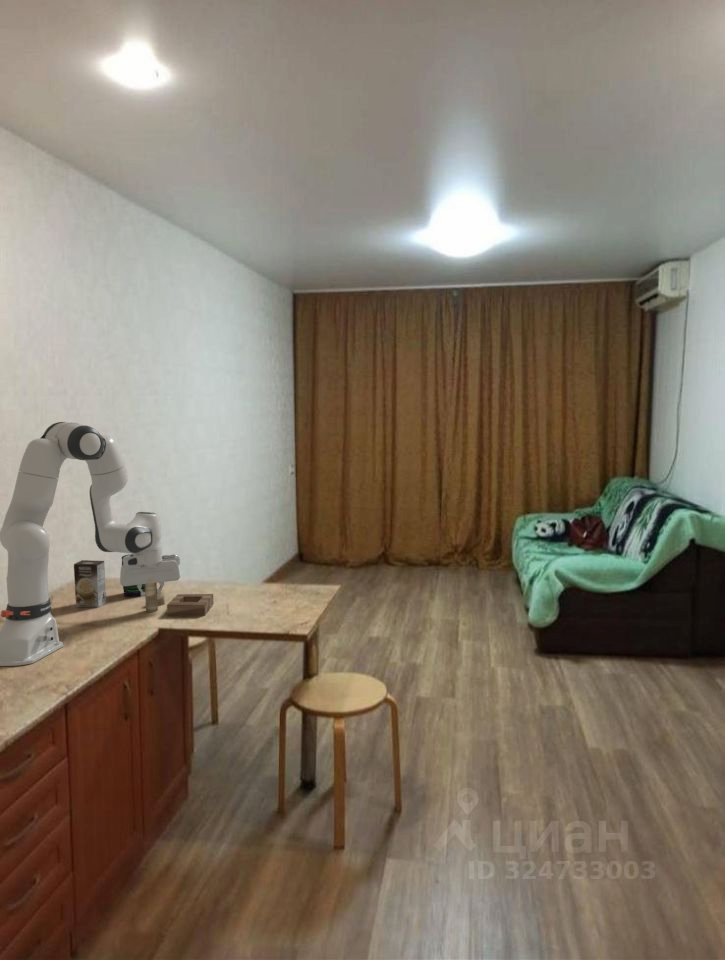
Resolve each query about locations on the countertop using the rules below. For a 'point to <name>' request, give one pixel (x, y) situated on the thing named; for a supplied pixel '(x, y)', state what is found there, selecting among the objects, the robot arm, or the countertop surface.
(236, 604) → the countertop surface
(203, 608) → the walnut collar
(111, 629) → the countertop surface
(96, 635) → the countertop surface
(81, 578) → the coffee box
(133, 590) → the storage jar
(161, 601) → the short pin
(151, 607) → the long pin
